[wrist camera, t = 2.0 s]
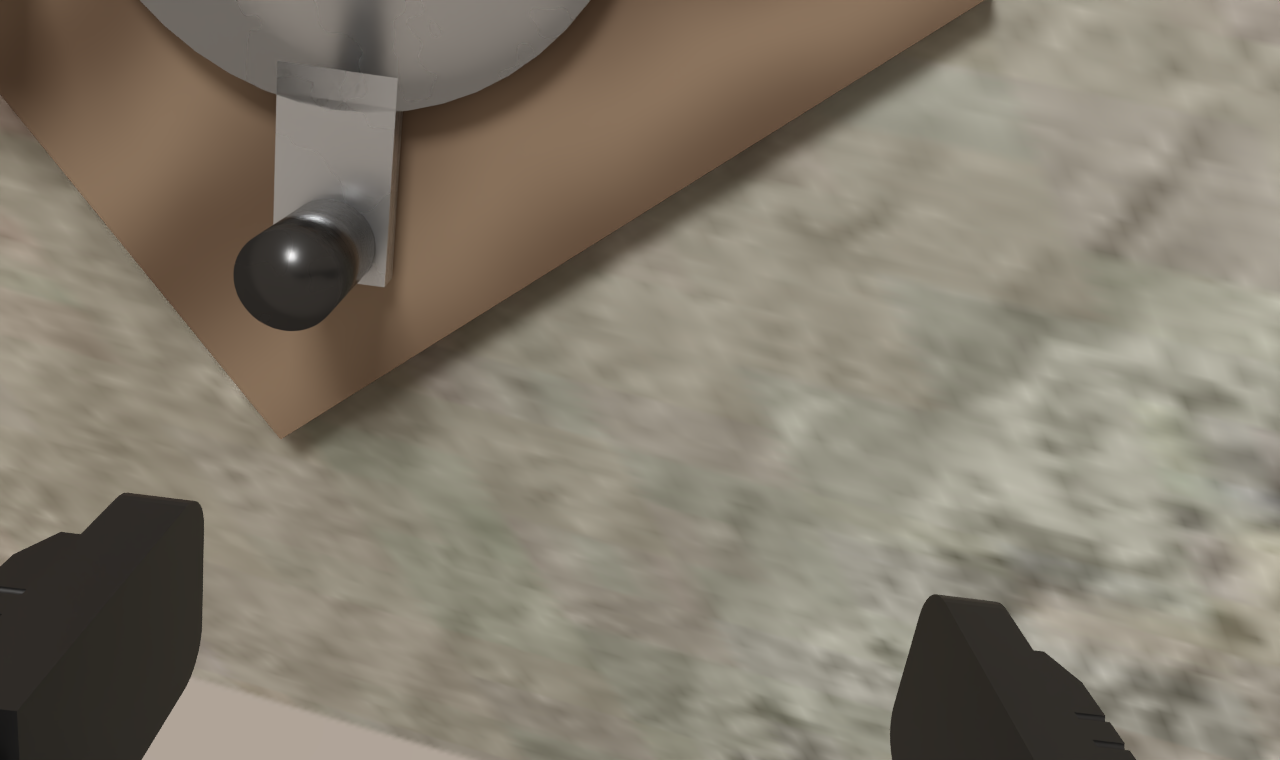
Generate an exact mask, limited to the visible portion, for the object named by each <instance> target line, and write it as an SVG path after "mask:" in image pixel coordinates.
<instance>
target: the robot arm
mask: <svg viewBox="0 0 1280 760" xmlns="http://www.w3.org/2000/svg"><path fill="white" fill-rule="evenodd" d="M203 547H204V518H203V511H202V508H201V505H200V504H199V503H198V502H196V501H190V500H182V499H173V498H165V497H157V496H149V495H141V494H133V493H123V494H121V495H120V496H118V497H117V498H116V499H115V500H114V501H113V502H112V503H111V504H110V505H109V506H108V507H107V508H106V509H105V510H104V511H103V512H102V513H101V514H100V515H99V516H98V517H97V518H96V519H95V520H94V521H93V522H92V523H91V524H90V525H89V527H88V528H87V529H86V530H85V531H84V532H83V533H82V534H74V533H65V532H60V533H58V534H56V535H53V536H51V537H49V538H47V539H45V540H43V541H41V542H39V543H37V544H34V545H32V546H30V547H28V548H26V549H24V550H22V551H20V552H18V553H15V554H13V555H12V556H11V557H10V558H9V559H8V560H7V561H6V562H5V563H4V564H3V565H1V566H0V760H142V758H143V756H144V755H145V753H146V751H147V750H148V748H149V746H150V745H151V743H152V742H153V740H154V738H155V737H156V735H157V733H158V732H159V730H160V729H161V727H162V725H163V724H164V722H165V720H166V719H167V717H168V715H169V714H170V712H171V711H172V709H173V707H174V706H175V704H176V702H177V701H178V699H179V697H180V696H181V694H182V693H183V691H184V689H185V687H186V686H187V683H188V682H189V679H190V677H191V674H192V672H193V669H194V666H195V663H196V659H197V655H198V651H199V646H200V640H201V632H202V599H203ZM1124 744H1125V743H1124V742H1123V740H1122V739H1121V738H1120V736H1119V735H1118V733H1117V732H1116V730H1115V729H1114V728H1113V726H1112V725H1111V723H1110V722H1105V715H1104V713H1103V712H1102V710H1101V709H1100V708H1099V706H1098V705H1097V703H1096V702H1095V700H1094V699H1093V698H1092V696H1091V695H1090V693H1089V692H1088V691H1087V689H1086V688H1085V686H1084V685H1083V683H1082V682H1081V681H1079V680H1078V679H1077V678H1076V677H1074V676H1073V675H1072V674H1071V673H1070V672H1068V671H1067V670H1066V669H1065V668H1063V667H1062V666H1061V665H1060V664H1058V663H1057V662H1056V661H1055V660H1054V659H1052V658H1051V657H1050V656H1049V655H1047V654H1046V653H1045V652H1042V651H1033V649H1032V648H1031V646H1030V645H1029V643H1028V642H1027V640H1026V639H1025V637H1024V635H1023V634H1022V632H1021V631H1020V629H1019V628H1018V626H1017V625H1016V623H1015V622H1014V620H1013V619H1012V617H1011V616H1010V614H1009V613H1008V611H1007V610H1006V608H1005V607H1004V606H1003V605H1002V604H1000V603H998V602H993V601H985V600H977V599H969V598H961V597H953V596H945V595H937V594H935V595H932V596H930V597H929V598H928V599H927V600H926V602H925V603H924V605H923V608H922V610H921V613H920V616H919V619H918V623H917V626H916V630H915V633H914V637H913V640H912V644H911V647H910V651H909V654H908V658H907V661H906V665H905V668H904V672H903V675H902V679H901V682H900V686H899V689H898V693H897V696H896V700H895V703H894V707H893V711H892V717H891V727H890V745H891V754H892V760H1136V759H1135V758H1134V756H1133V755H1132V753H1131V752H1130V751H1128V750H1125V749H1124Z"/></svg>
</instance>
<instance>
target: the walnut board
mask: <svg viewBox="0 0 1280 760" xmlns="http://www.w3.org/2000/svg"><path fill="white" fill-rule="evenodd" d="M983 1H984V0H590V2H589V3H588V4H587V5H586V7H585V8H584V9H583V10H582V11H581V13H580V14H579V15H578V16H577V17H576V19H575V20H574V21H573V22H572V24H571V25H570V26H569V27H568V28H567V30H565V31H564V32H563V33H562V34H561V35H560V36H559V37H558V38H557V39H556V40H555V41H554V42H552V43H551V44H550V45H549V46H548V47H547V48H546V49H545V50H544V51H543V52H542V53H541V54H539V55H538V56H536V57H535V58H533V59H532V60H531V61H529V62H528V63H526V64H525V65H523V66H522V67H521V68H519V69H518V70H516V71H515V72H513V73H512V74H510V75H509V76H507V77H505V78H503V79H501V80H499V81H498V82H496V83H494V84H492V85H490V86H488V87H486V88H484V89H482V90H480V91H478V92H476V93H473V94H470V95H467V96H464V97H461V98H458V99H455V100H452V101H450V102H447V103H444V104H439V105H434V106H429V107H424V108H419V109H414V110H409V111H403V114H402V130H401V145H400V161H399V176H398V192H397V207H396V223H395V238H394V254H393V269H392V279H391V280H390V281H389V282H388V284H387V285H386V286H385V287H378V286H370V285H363V284H356V285H355V286H354V287H353V289H352V290H351V291H350V292H349V293H348V294H347V295H346V296H345V297H344V299H343V300H342V301H341V302H340V303H339V304H338V305H337V306H336V307H335V308H334V310H333V311H332V312H331V313H330V314H329V315H328V316H327V317H326V318H325V319H324V320H323V321H322V322H320V323H319V324H317V325H315V326H313V327H311V328H308V329H305V330H300V331H283V330H278V329H275V328H272V327H269V326H267V325H265V324H263V323H262V322H260V321H258V320H257V319H256V318H254V317H253V316H252V315H251V314H250V313H249V312H248V311H247V310H246V308H245V307H244V306H243V304H242V303H241V301H240V299H239V297H238V295H237V292H236V289H235V285H234V277H233V273H234V265H235V261H236V259H237V256H238V254H239V252H240V251H241V249H242V248H243V247H244V245H245V244H246V243H247V242H248V241H249V240H251V239H252V238H254V237H255V236H257V235H258V234H260V233H261V232H263V231H264V230H266V229H267V228H269V227H270V226H272V225H273V217H274V177H275V137H276V97H277V95H276V94H274V93H271V92H268V91H265V90H263V89H261V88H258V87H256V86H254V85H252V84H250V83H248V82H246V81H244V80H242V79H240V78H238V77H236V76H234V75H232V74H230V73H228V72H227V71H225V70H223V69H222V68H220V67H219V66H217V65H216V64H214V63H213V62H211V61H210V60H208V59H206V58H205V57H203V56H202V55H200V54H199V53H197V52H196V51H194V50H193V49H192V48H191V47H190V46H188V45H187V44H186V43H185V42H184V41H182V40H181V39H180V38H179V37H177V36H176V35H175V34H174V33H173V32H171V31H170V30H169V29H168V28H167V27H165V26H164V25H163V24H162V23H161V22H160V21H159V20H158V19H157V18H156V17H155V15H154V14H153V13H152V12H151V11H150V10H149V9H148V8H147V7H146V6H145V5H144V4H143V3H142V2H141V1H140V0H0V95H1V96H2V97H3V98H4V100H5V101H6V102H7V103H8V104H9V106H10V107H11V108H12V109H13V111H14V112H15V113H16V114H17V116H18V117H19V118H20V119H21V120H22V122H23V123H24V124H25V125H26V127H27V128H28V129H29V130H30V132H31V133H32V134H33V135H34V136H35V138H36V139H37V140H38V141H39V143H40V144H41V145H42V146H43V148H44V149H45V150H46V151H47V152H48V154H49V155H50V156H51V157H52V159H53V160H54V161H55V162H56V163H57V165H58V166H59V167H60V168H61V170H62V171H63V172H64V173H65V175H66V176H67V177H68V178H69V179H70V181H71V182H72V183H73V184H74V186H75V187H76V188H77V189H78V191H79V192H80V193H81V194H82V195H83V197H84V198H85V199H86V200H87V202H88V203H89V204H90V205H91V207H92V208H93V209H94V210H95V211H96V213H97V214H98V215H99V216H100V218H101V219H102V220H103V221H104V223H105V224H106V225H107V226H108V227H109V229H110V230H111V231H112V232H113V234H114V235H115V236H116V237H117V239H118V240H119V241H120V242H121V243H122V245H123V246H124V247H125V248H126V250H127V251H128V252H129V253H130V255H131V256H132V257H133V258H134V259H135V261H136V262H137V263H138V264H139V266H140V267H141V268H142V269H143V271H144V272H145V273H146V274H147V275H148V277H149V278H150V279H151V280H152V282H153V283H154V284H155V285H156V287H157V288H158V289H159V290H160V291H161V293H162V294H163V295H164V296H165V298H166V299H167V300H168V301H169V302H170V304H171V305H172V306H173V307H174V309H175V310H176V311H177V312H178V314H179V315H180V316H181V317H182V318H183V320H184V321H185V322H186V323H187V325H188V326H189V327H190V328H191V330H192V331H193V332H194V333H195V334H196V336H197V337H198V338H199V339H200V341H201V342H202V343H203V344H204V346H205V347H206V348H207V349H208V350H209V352H210V353H211V354H212V355H213V357H214V358H215V359H216V360H217V362H218V363H219V364H220V365H221V366H222V368H223V369H224V370H225V371H226V373H227V374H228V375H229V376H230V378H231V379H232V380H233V381H234V382H235V384H236V385H237V386H238V387H239V389H240V390H241V391H242V392H243V394H244V395H245V396H246V397H247V398H248V400H249V401H250V402H251V403H252V405H253V406H254V407H255V408H256V410H257V411H258V412H259V413H260V414H261V416H262V417H263V418H264V419H265V421H266V422H267V423H268V424H269V426H270V427H271V428H272V429H273V430H274V432H275V433H276V434H277V435H278V437H279V438H280V439H282V438H284V437H285V436H287V435H288V434H290V433H292V432H293V431H295V430H296V429H298V428H300V427H301V426H303V425H304V424H306V423H308V422H309V421H311V420H312V419H314V418H316V417H317V416H319V415H321V414H322V413H324V412H325V411H327V410H329V409H330V408H332V407H333V406H335V405H337V404H338V403H340V402H341V401H343V400H345V399H346V398H348V397H349V396H351V395H353V394H354V393H356V392H357V391H359V390H361V389H362V388H364V387H365V386H367V385H369V384H370V383H372V382H373V381H375V380H377V379H378V378H380V377H381V376H383V375H385V374H386V373H388V372H389V371H391V370H393V369H394V368H396V367H397V366H399V365H401V364H402V363H404V362H405V361H407V360H409V359H410V358H412V357H413V356H415V355H417V354H418V353H420V352H421V351H423V350H425V349H426V348H428V347H430V346H431V345H433V344H434V343H436V342H438V341H439V340H441V339H442V338H444V337H446V336H447V335H449V334H450V333H452V332H454V331H455V330H457V329H458V328H460V327H462V326H463V325H465V324H466V323H468V322H470V321H471V320H473V319H474V318H476V317H478V316H479V315H481V314H482V313H484V312H486V311H487V310H489V309H490V308H492V307H494V306H495V305H497V304H498V303H500V302H502V301H503V300H505V299H506V298H508V297H510V296H511V295H513V294H514V293H516V292H518V291H519V290H521V289H522V288H524V287H526V286H527V285H529V284H530V283H532V282H534V281H535V280H537V279H539V278H540V277H542V276H543V275H545V274H547V273H548V272H550V271H551V270H553V269H555V268H556V267H558V266H559V265H561V264H563V263H564V262H566V261H567V260H569V259H571V258H572V257H574V256H575V255H577V254H579V253H580V252H582V251H583V250H585V249H587V248H588V247H590V246H591V245H593V244H595V243H596V242H598V241H599V240H601V239H603V238H604V237H606V236H607V235H609V234H611V233H612V232H614V231H615V230H617V229H619V228H620V227H622V226H623V225H625V224H627V223H628V222H630V221H631V220H633V219H635V218H636V217H638V216H639V215H641V214H643V213H644V212H646V211H648V210H649V209H651V208H652V207H654V206H656V205H657V204H659V203H660V202H662V201H664V200H665V199H667V198H668V197H670V196H672V195H673V194H675V193H676V192H678V191H680V190H681V189H683V188H684V187H686V186H688V185H689V184H691V183H692V182H694V181H696V180H697V179H699V178H700V177H702V176H704V175H705V174H707V173H708V172H710V171H712V170H713V169H715V168H716V167H718V166H720V165H721V164H723V163H724V162H726V161H728V160H729V159H731V158H732V157H734V156H736V155H737V154H739V153H740V152H742V151H744V150H745V149H747V148H748V147H750V146H752V145H753V144H755V143H756V142H758V141H760V140H761V139H763V138H765V137H766V136H768V135H769V134H771V133H773V132H774V131H776V130H777V129H779V128H781V127H782V126H784V125H785V124H787V123H789V122H790V121H792V120H793V119H795V118H797V117H798V116H800V115H801V114H803V113H805V112H806V111H808V110H809V109H811V108H813V107H814V106H816V105H817V104H819V103H821V102H822V101H824V100H825V99H827V98H829V97H830V96H832V95H833V94H835V93H837V92H838V91H840V90H841V89H843V88H845V87H846V86H848V85H849V84H851V83H853V82H854V81H856V80H857V79H859V78H861V77H862V76H864V75H865V74H867V73H869V72H870V71H872V70H874V69H875V68H877V67H878V66H880V65H882V64H883V63H885V62H886V61H888V60H890V59H891V58H893V57H894V56H896V55H898V54H899V53H901V52H902V51H904V50H906V49H907V48H909V47H910V46H912V45H914V44H915V43H917V42H918V41H920V40H922V39H923V38H925V37H926V36H928V35H930V34H931V33H933V32H934V31H936V30H938V29H939V28H941V27H942V26H944V25H946V24H947V23H949V22H950V21H952V20H954V19H955V18H957V17H958V16H960V15H962V14H963V13H965V12H966V11H968V10H970V9H971V8H973V7H974V6H976V5H978V4H979V3H981V2H983Z"/></svg>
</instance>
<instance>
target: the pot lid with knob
mask: <svg viewBox="0 0 1280 760" xmlns="http://www.w3.org/2000/svg"><path fill="white" fill-rule="evenodd" d="M140 1H141V2H142V3H143V4H144V5H145V6H146V7H147V8H148V9H149V10H150V11H151V12H152V13H153V14H154V15H155V17H156V18H157V19H158V20H159V21H160V22H161V23H162V24H163V25H164V26H165V27H167V28H168V29H169V30H170V31H171V32H173V33H174V34H175V35H176V36H177V37H179V38H180V39H181V40H182V41H184V42H185V43H186V44H187V45H188V46H190V47H191V48H192V49H193V50H194V51H196V52H197V53H199V54H200V55H202V56H203V57H205V58H206V59H208V60H210V61H211V62H213V63H214V64H216V65H217V66H219V67H220V68H222V69H223V70H225V71H227V72H228V73H230V74H232V75H234V76H236V77H238V78H240V79H242V80H244V81H246V82H248V83H250V84H252V85H254V86H256V87H258V88H261V89H263V90H265V91H268V92H271V93H274V94H276V95H277V97H276V137H275V177H274V217H273V225H272V226H270V227H269V228H267V229H266V230H264V231H263V232H261V233H260V234H258V235H257V236H255V237H254V238H252V239H251V240H249V241H248V242H247V243H246V244H245V245H244V247H243V248H242V249H241V251H240V252H239V254H238V256H237V259H236V261H235V265H234V273H233V277H234V285H235V289H236V292H237V295H238V297H239V299H240V301H241V303H242V304H243V306H244V307H245V308H246V310H247V311H248V312H249V313H250V314H251V315H252V316H253V317H254V318H256V319H257V320H258V321H260V322H262V323H263V324H265V325H267V326H269V327H272V328H275V329H278V330H283V331H300V330H305V329H308V328H311V327H313V326H315V325H317V324H319V323H320V322H322V321H323V320H324V319H325V318H326V317H327V316H328V315H329V314H330V313H331V312H332V311H333V310H334V308H335V307H336V306H337V305H338V304H339V303H340V302H341V301H342V300H343V299H344V297H345V296H346V295H347V294H348V293H349V292H350V291H351V290H352V289H353V287H354V286H355V285H356V284H363V285H370V286H378V287H385V286H386V285H387V284H388V282H389V281H390V280H391V279H392V269H393V254H394V238H395V223H396V207H397V192H398V176H399V161H400V145H401V130H402V114H403V111H409V110H414V109H419V108H424V107H429V106H434V105H439V104H444V103H447V102H450V101H452V100H455V99H458V98H461V97H464V96H467V95H470V94H473V93H476V92H478V91H480V90H482V89H484V88H486V87H488V86H490V85H492V84H494V83H496V82H498V81H499V80H501V79H503V78H505V77H507V76H509V75H510V74H512V73H513V72H515V71H516V70H518V69H519V68H521V67H522V66H523V65H525V64H526V63H528V62H529V61H531V60H532V59H533V58H535V57H536V56H538V55H539V54H541V53H542V52H543V51H544V50H545V49H546V48H547V47H548V46H549V45H550V44H551V43H552V42H554V41H555V40H556V39H557V38H558V37H559V36H560V35H561V34H562V33H563V32H564V31H565V30H567V28H568V27H569V26H570V25H571V24H572V22H573V21H574V20H575V19H576V17H577V16H578V15H579V14H580V13H581V11H582V10H583V9H584V8H585V7H586V5H587V4H588V3H589V2H590V0H140Z"/></svg>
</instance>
